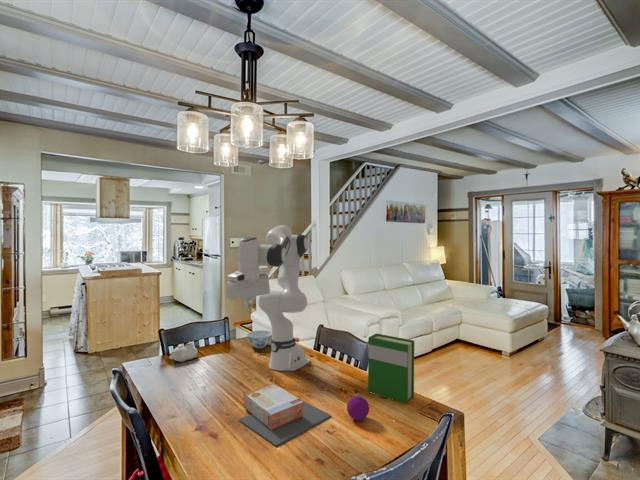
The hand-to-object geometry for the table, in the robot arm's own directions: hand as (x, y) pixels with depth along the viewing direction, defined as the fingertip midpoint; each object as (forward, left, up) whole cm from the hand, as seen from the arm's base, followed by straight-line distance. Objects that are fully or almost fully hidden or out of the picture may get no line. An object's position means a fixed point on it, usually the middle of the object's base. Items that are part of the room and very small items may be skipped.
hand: (248, 307), depth 147 cm
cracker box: (+2, +10, -34) cm, 35 cm away
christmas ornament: (-17, +46, -37) cm, 62 cm away
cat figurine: (+3, -58, -37) cm, 69 cm away
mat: (+2, +27, -37) cm, 46 cm away
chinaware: (-40, -48, -37) cm, 73 cm away
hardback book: (-42, +44, -37) cm, 71 cm away
